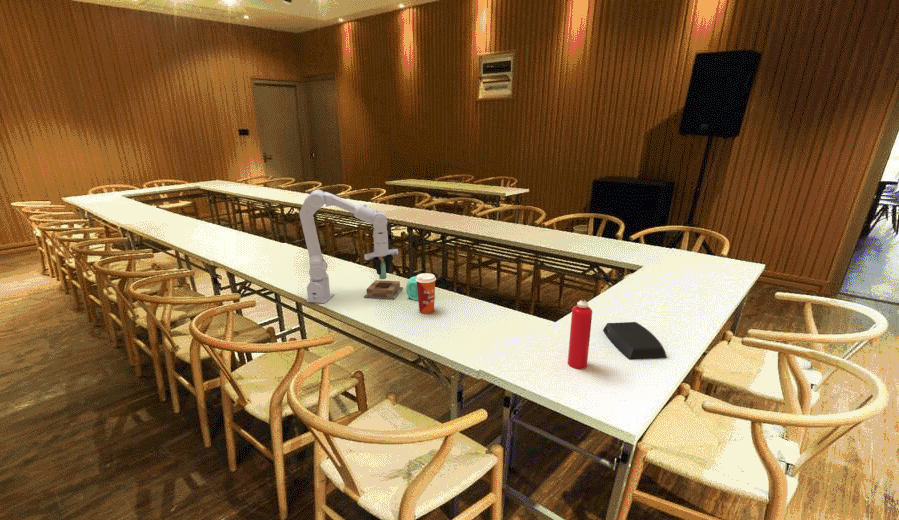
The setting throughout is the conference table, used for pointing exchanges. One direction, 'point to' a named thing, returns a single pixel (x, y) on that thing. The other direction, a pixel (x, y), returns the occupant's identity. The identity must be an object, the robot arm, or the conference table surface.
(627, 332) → the external hard drive
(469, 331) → the conference table surface
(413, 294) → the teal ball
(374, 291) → the socket
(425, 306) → the paper cup
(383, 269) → the peg
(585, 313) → the bottle
